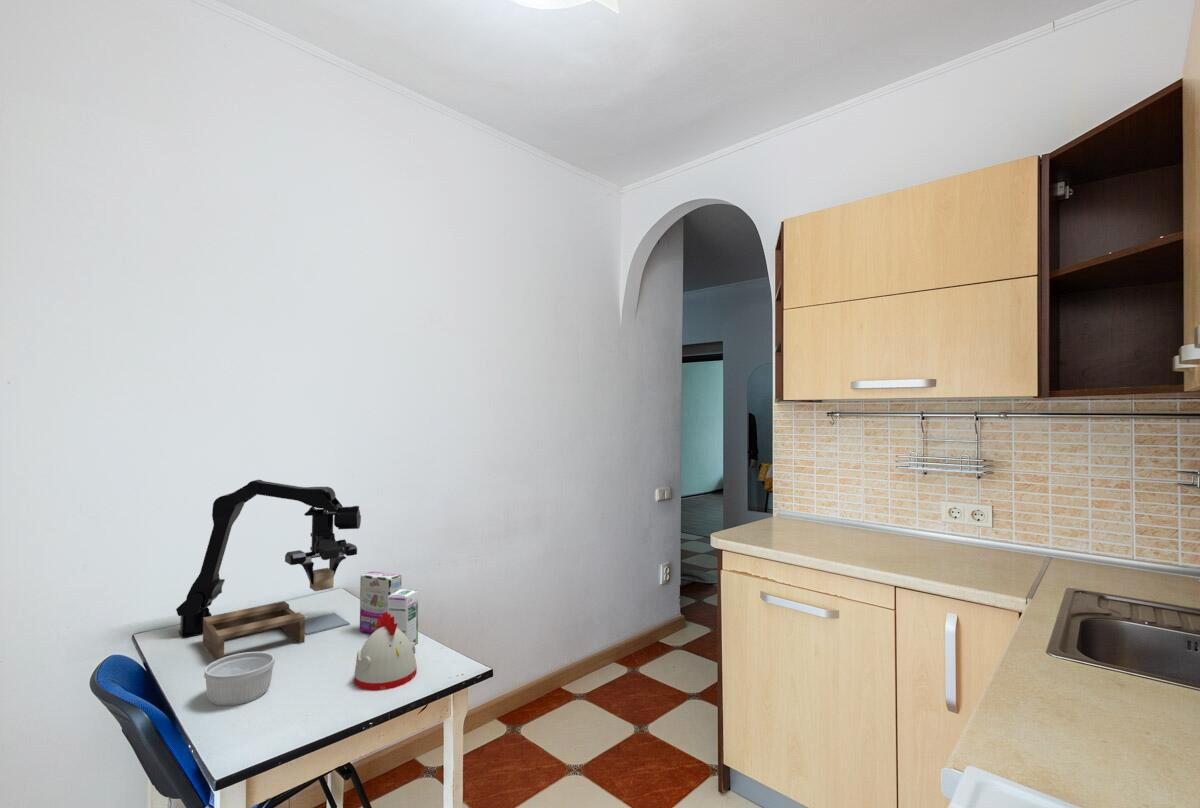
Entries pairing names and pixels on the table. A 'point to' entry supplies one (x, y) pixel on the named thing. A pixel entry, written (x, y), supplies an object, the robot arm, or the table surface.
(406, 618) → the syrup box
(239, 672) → the ramekin
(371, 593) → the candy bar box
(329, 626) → the pad
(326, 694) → the table surface
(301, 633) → the wooden rack
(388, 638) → the kitchen timer
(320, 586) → the maple block
